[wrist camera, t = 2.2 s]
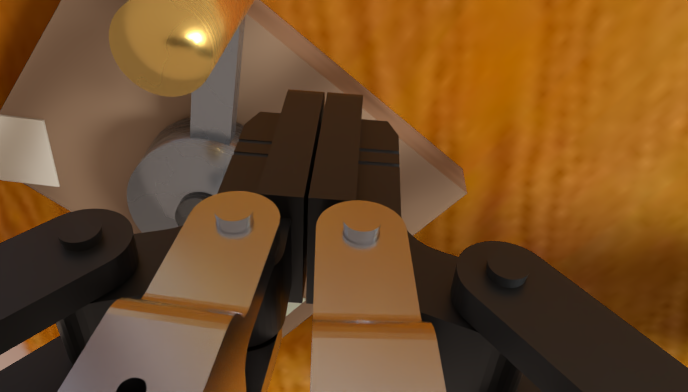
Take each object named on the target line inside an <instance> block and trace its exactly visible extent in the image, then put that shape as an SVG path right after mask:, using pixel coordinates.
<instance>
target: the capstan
mask: <svg viewBox="0 0 688 392" xmlns="http://www.w3.org/2000/svg"><path fill="white" fill-rule="evenodd" d="M254 1H255V0H129V1H127V2H126V3H125V4H124V5H123V6H122V7H121V8H120V9H119V10H118V11H117V12H116V13H115V15H114V17H113V19H112V21H111V24H110V28H109V44H110V49H111V52H112V55H113V57H114V59H115V61H116V63H117V65H118V66H119V68H120V69H121V71H122V72H123V73H124V74H125V75H126V76H127V77H128V78H129V79H130V80H131V81H132V82H133V83H135V84H136V85H137V86H139V87H140V88H142V89H144V90H146V91H148V92H151V93H153V94H156V95H160V96H167V97H177V96H183V95H187V94H189V93H191V118H187V119H182V120H180V121H177V122H175V123H173V124H171V125H169V126H167V127H166V128H165V129H163V130H162V131H161V132H160V133H159V134H158V135H157V136H156V137H155V139H154V140H153V142H152V144H151V145H150V147H149V148H148V150H147V151H146V153H145V154H144V156H143V157H142V159H141V160H140V162H139V164H138V165H137V167H136V168H135V170H134V171H133V173H132V174H131V177H130V179H129V182H128V187H127V203H128V207H129V211H130V214H131V216H132V218H133V220H134V222H135V224H136V225H137V227H138V228H139V230H140V231H141V232H142V233H144V232H151V231H158V230H165V229H170V228H175V227H179V226H182V225H184V223H185V221H186V220H187V218H188V216H189V214H190V212H191V211H192V210H193V208H194V207H195V206H196V205H197V204H198V203H200V202H201V201H203V200H204V199H206V198H208V197H210V196H213V195H215V194H217V193H218V190H219V188H220V185H221V183H222V180H223V178H224V175H225V173H226V170H227V168H228V165H229V162H230V160H231V157H232V155H234V150H235V147H236V145H237V142H239V137H240V135H241V132H242V129H243V127H244V126H243V125H241V124H239V123H236V119H237V108H238V96H239V85H240V73H241V62H242V50H243V39H244V27H245V16H246V14H247V12H248V10H249V9H250V7H251V5H252V4H253V2H254Z"/></svg>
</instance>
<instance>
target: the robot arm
mask: <svg viewBox="0 0 688 392" xmlns="http://www.w3.org/2000/svg"><path fill="white" fill-rule="evenodd" d="M362 105H363V95H359V94H345V93H332V92H327V96H326V102H325V92H317V91H304V90H291V89H288V91H287V94H286V98H285V101H284V104H283V107H282V111H281V113H272V112H259V113H258V114H257V115H255V116H254V117H253V118H252V119H250V120H249V121H248V122H246V123H245V124H244V127H243V129H242V132H241V135H240V137H239V142H237V145H236V147H235V150H234V155H232V157H231V160H230V162H229V165H228V168H227V170H226V173H225V175H224V178H223V180H222V183H221V185H220V188H219V190H218V193H217V194H215V195H213V196H210V197H208V198H206V199H204V200H203V201H201V202H200V203H198V204H197V205H196V206H195V207H194V208H193V210H192V211H191V212H190V214H189V216H188V218H187V220H186V221H185V223H184V225H182V226H179V227H175V228H170V229H165V230H158V231H151V232H144V233H137V234H134V233H133V228H132V225H131V223H130V221H129V220H128V219H127V218H126V217H125V216H123V215H122V214H120V213H118V212H115V211H112V210H108V209H82V210H77V211H73V212H69V213H66V214H64V215H61V216H59V217H56V218H54V219H52V220H50V221H48V222H45V223H43V224H41V225H39V226H37V227H35V228H32V229H30V230H28V231H26V232H24V233H21V234H19V235H17V236H15V237H13V238H11V239H8V240H6V241H4V242H2V243H0V355H1V354H3V353H4V352H6V351H8V350H9V349H11V348H13V347H15V346H17V345H18V344H20V343H22V342H23V341H25V340H27V339H29V338H30V337H32V336H34V335H36V334H37V333H39V332H41V331H43V330H44V329H46V328H48V327H50V326H51V325H53V324H55V323H56V325H57V328H58V330H59V333H60V336H59V337H57V338H55V339H54V340H52V341H50V342H49V343H47V344H45V345H43V346H42V347H40V348H38V349H37V350H35V351H33V352H32V353H30V354H28V355H27V356H25V357H23V358H22V359H20V360H19V361H16V362H15V363H13V364H11V365H10V366H8V367H6V368H5V369H3V370H1V371H0V392H267V391H268V388H269V384H270V381H271V377H272V373H273V370H274V366H275V363H276V359H277V355H278V352H279V348H280V345H281V340H282V326H283V324H284V321H285V318H286V312H287V307H288V302H291V303H302V302H303V295H304V289H305V282H306V276H307V282H306V304H313V325H312V354H311V382H310V392H688V368H687V367H686V366H684V365H683V364H682V363H680V362H679V361H678V360H676V359H675V358H674V357H672V356H671V355H670V354H668V353H667V352H666V351H664V350H663V349H662V348H660V347H659V346H658V345H656V344H655V343H654V342H652V341H651V340H650V339H648V338H647V337H646V336H644V335H643V334H642V333H640V332H639V331H638V330H636V329H635V328H634V327H632V326H631V325H630V324H628V323H627V322H626V321H624V320H623V319H622V318H620V317H619V316H618V315H616V314H615V313H613V312H612V311H611V310H609V309H608V308H607V307H605V306H604V305H603V304H601V303H600V302H599V301H597V300H596V299H595V298H593V297H592V296H591V295H589V294H588V293H587V292H585V291H584V290H583V289H581V288H580V287H579V286H577V285H576V284H575V283H573V282H572V281H571V280H569V279H568V278H567V277H565V276H564V275H563V274H561V273H560V272H559V271H557V270H556V269H555V268H553V267H552V266H551V265H549V264H548V263H547V262H545V261H544V260H543V259H541V258H540V257H539V256H537V255H536V254H534V253H533V252H531V251H529V250H527V249H525V248H523V247H520V246H518V245H514V244H511V243H506V242H500V241H487V242H481V243H477V244H474V245H471V246H470V247H468V248H466V249H465V250H464V251H463V252H462V253H461V254H460V256H459V257H457V256H453V255H450V254H447V253H444V252H441V251H438V250H435V249H433V248H430V247H428V246H426V245H424V244H423V243H421V242H420V241H418V240H417V239H416V238H414V237H413V236H412V235H411V234H410V233H409V232H408V230H407V228H406V225H405V223H404V221H403V219H402V216H401V192H400V167H399V164H400V162H399V135H398V134H397V133H396V131H395V130H394V129H393V128H392V126H391V125H390V124H389V122H388V121H379V120H366V119H362Z"/></svg>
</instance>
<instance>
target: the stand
mask: <svg viewBox="0 0 688 392" xmlns="http://www.w3.org/2000/svg"><path fill="white" fill-rule="evenodd" d="M127 1H129V0H61V2H60V3H59V5H58V7H57V9H56V11H55V13H54V14H53V16H52V18H51V20H50V22H49V23H48V25H47V27H46V29H45V31H44V32H43V34H42V36H41V38H40V40H39V42H38V43H37V45H36V47H35V49H34V51H33V52H32V54H31V56H30V58H29V60H28V61H27V63H26V65H25V67H24V69H23V70H22V72H21V74H20V76H19V78H18V80H17V81H16V83H15V85H14V87H13V89H12V90H11V92H10V94H9V96H8V98H7V99H6V101H5V103H4V105H3V107H2V109H1V110H0V180H4V181H13V182H21V183H24V184H25V185H27V186H29V187H31V188H32V189H34V190H36V191H37V192H39V193H41V194H42V195H44V196H46V197H47V198H49V199H51V200H52V201H54V202H56V203H57V204H59V205H61V206H62V207H64V208H66V209H68V210H69V211H71V212H73V211H77V210H82V209H108V210H112V211H115V212H118V213H120V214H122V215H123V216H125V217H126V218H127V219H128V220H129V221H130V223H131V225H132V228H133V233H134V234H137V233H142V232H141V231H140V230H139V228H138V227H137V225H136V224H135V222H134V220H133V218H132V216H131V214H130V211H129V207H128V203H127V187H128V182H129V179H130V177H131V174H132V173H133V171H134V170H135V168H136V167H137V165H138V164H139V162H140V160H141V159H142V157H143V156H144V154H145V153H146V151H147V150H148V148H149V147H150V145H151V144H152V142H153V140H154V139H155V137H156V136H157V135H158V134H159V133H160V132H161V131H162V130H163V129H165V128H166V127H167V126H169V125H171V124H173V123H175V122H177V121H180V120H182V119H187V118H191V93H189V94H187V95H183V96H177V97H167V96H160V95H156V94H153V93H151V92H148V91H146V90H144V89H142V88H140V87H139V86H137V85H136V84H135V83H133V82H132V81H131V80H130V79H129V78H128V77H127V76H126V75H125V74H124V73H123V72H122V71H121V69H120V68H119V66H118V65H117V63H116V61H115V59H114V57H113V55H112V52H111V49H110V44H109V28H110V24H111V21H112V19H113V17H114V15H115V13H116V12H117V11H118V10H119V9H120V8H121V7H122V6H123V5H124V4H125V3H126V2H127ZM288 89H291V90H304V91H317V92H325V102H326V96H327V92H332V93H345V94H359V95H363V105H362V119H366V120H379V121H388V122H389V124H390V125H391V126H392V128H393V129H394V130H395V131H396V133H397V134H398V135H399V162H400V164H399V167H400V192H401V216H402V219H403V221H404V223H405V225H406V228H407V230H408V232H409V233H410V234H411V235H412V236H413V235H414V234H416V233H417V232H418V231H420V230H421V229H422V228H423V227H425V226H426V225H427V224H428V223H430V222H431V221H432V220H434V219H435V218H436V217H437V216H439V215H440V214H441V213H443V212H444V211H445V210H446V209H448V208H449V207H450V206H451V205H453V204H454V203H455V202H457V201H458V200H459V199H460V198H462V197H463V196H464V195H466V194H467V191H466V185H465V180H464V174H463V169H462V168H461V167H459V166H458V165H457V164H456V163H455V162H453V161H452V160H451V159H450V158H449V157H447V156H446V155H445V154H444V153H443V152H441V151H440V150H439V149H438V148H437V147H435V146H434V145H433V144H432V143H431V142H429V141H428V140H427V139H426V138H425V137H423V136H422V135H421V134H420V133H419V132H417V131H416V130H415V129H414V128H413V127H411V126H410V125H409V124H408V123H407V122H405V121H404V120H403V119H402V118H401V117H399V116H398V115H397V114H396V113H395V112H393V111H392V110H391V109H390V108H389V107H387V106H386V105H385V104H384V103H383V102H381V101H380V100H379V99H378V98H377V97H375V96H374V95H373V94H372V93H371V92H369V91H368V90H367V89H366V88H365V87H363V86H362V85H361V84H360V83H359V82H357V81H356V80H355V79H354V78H353V77H351V76H350V75H349V74H348V73H347V72H345V71H344V70H343V69H342V68H341V67H339V66H338V65H337V64H336V63H335V62H333V61H332V60H331V59H330V58H329V57H327V56H326V55H325V54H324V53H323V52H321V51H320V50H319V49H318V48H317V47H315V46H314V45H313V44H312V43H311V42H309V41H308V40H307V39H306V38H305V37H303V36H302V35H301V34H300V33H299V32H297V31H296V30H295V29H294V28H293V27H291V26H290V25H289V24H288V23H287V22H285V21H284V20H283V19H282V18H281V17H279V16H278V15H277V14H276V13H275V12H273V11H272V10H271V9H270V8H269V7H267V6H266V5H265V4H264V3H263V2H261V1H260V0H255V1H254V2H253V4H252V5H251V7H250V9H249V10H248V12H247V14H246V16H245V27H244V39H243V50H242V62H241V73H240V85H239V96H238V108H237V119H236V123H239V124H241V125H243V126H244V124H245V123H246V122H248V121H249V120H250V119H252V118H253V117H254V116H255V115H257V114H258V113H259V112H272V113H281V111H282V107H283V104H284V101H285V98H286V94H287V91H288ZM306 282H307V276H306ZM306 282H305V289H304V295H303V302H302V303H291V302H288V307H287V312H286V318H285V321H284V324H283V326H282V337H284V336H285V335H287V334H288V333H289V332H290V331H292V330H293V329H294V328H295V327H297V326H298V325H299V324H301V323H302V322H303V321H304V320H306V319H307V318H308V317H310V316H311V315H312V314H313V304H306Z"/></svg>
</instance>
